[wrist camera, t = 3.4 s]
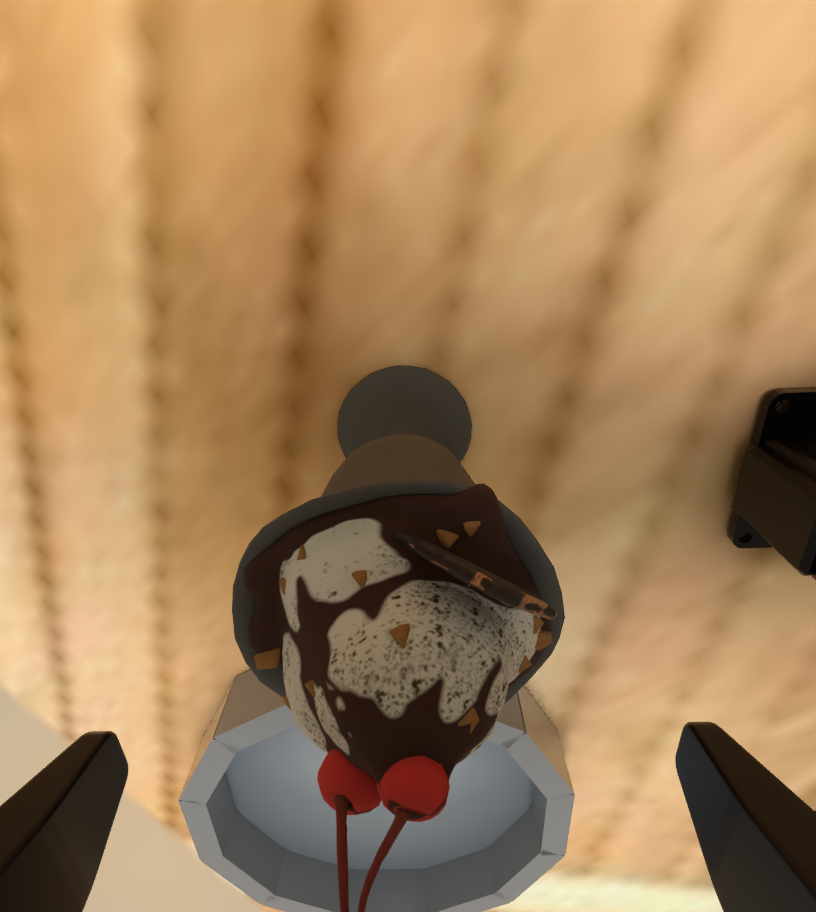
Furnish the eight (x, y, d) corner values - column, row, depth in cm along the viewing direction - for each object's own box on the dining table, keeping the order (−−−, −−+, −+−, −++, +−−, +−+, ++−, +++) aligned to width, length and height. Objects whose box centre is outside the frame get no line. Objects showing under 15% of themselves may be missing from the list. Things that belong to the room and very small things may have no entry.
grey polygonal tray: (569, 631, 24) (590, 690, 21) (541, 859, 32) (554, 925, 29) (173, 640, 24) (141, 699, 22) (241, 863, 32) (224, 928, 29)
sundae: (350, 525, 22) (247, 1066, 8) (288, 371, 19) (-23, 807, 5) (510, 485, 21) (690, 1017, 7) (470, 318, 18) (642, 679, 5)
